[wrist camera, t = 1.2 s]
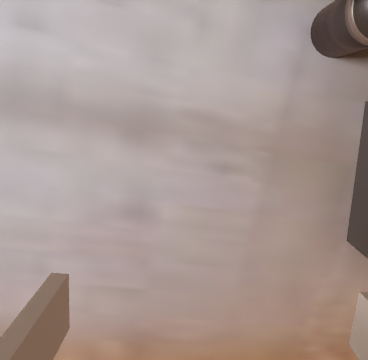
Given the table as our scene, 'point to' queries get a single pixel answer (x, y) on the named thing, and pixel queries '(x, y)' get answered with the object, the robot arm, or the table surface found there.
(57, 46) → the table surface
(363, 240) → the camera body
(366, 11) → the dark grey peg
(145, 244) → the table surface
